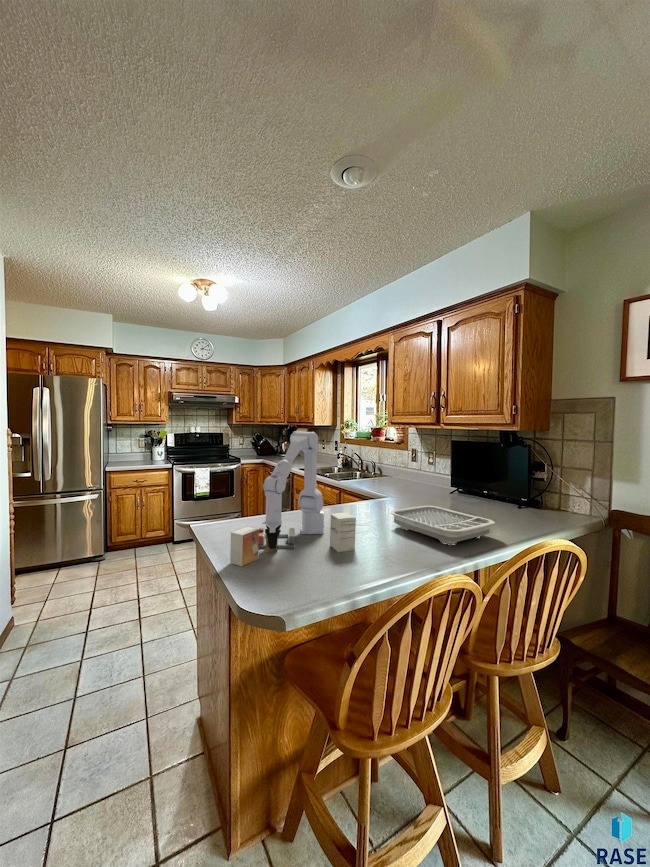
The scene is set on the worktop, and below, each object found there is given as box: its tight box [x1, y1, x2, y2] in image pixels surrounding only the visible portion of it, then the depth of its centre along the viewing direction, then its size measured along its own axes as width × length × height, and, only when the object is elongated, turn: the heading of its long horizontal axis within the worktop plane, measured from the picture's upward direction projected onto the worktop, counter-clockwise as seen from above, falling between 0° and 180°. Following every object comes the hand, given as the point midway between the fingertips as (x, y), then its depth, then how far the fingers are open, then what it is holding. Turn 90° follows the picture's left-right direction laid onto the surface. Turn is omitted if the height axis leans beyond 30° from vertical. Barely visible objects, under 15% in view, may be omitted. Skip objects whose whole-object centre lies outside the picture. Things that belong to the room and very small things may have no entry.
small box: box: [229, 526, 260, 567], centre depth 118 cm, size 8×6×10 cm
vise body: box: [259, 527, 296, 549], centre depth 137 cm, size 17×13×4 cm
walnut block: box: [265, 537, 279, 553], centre depth 129 cm, size 4×4×5 cm
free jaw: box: [258, 527, 266, 545], centre depth 137 cm, size 2×10×5 cm, turn 6°
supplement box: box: [329, 512, 357, 553], centre depth 133 cm, size 7×7×13 cm
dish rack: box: [390, 505, 496, 545], centre depth 154 cm, size 32×37×8 cm
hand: (272, 546), depth 129 cm, fingers open, 4 cm apart
